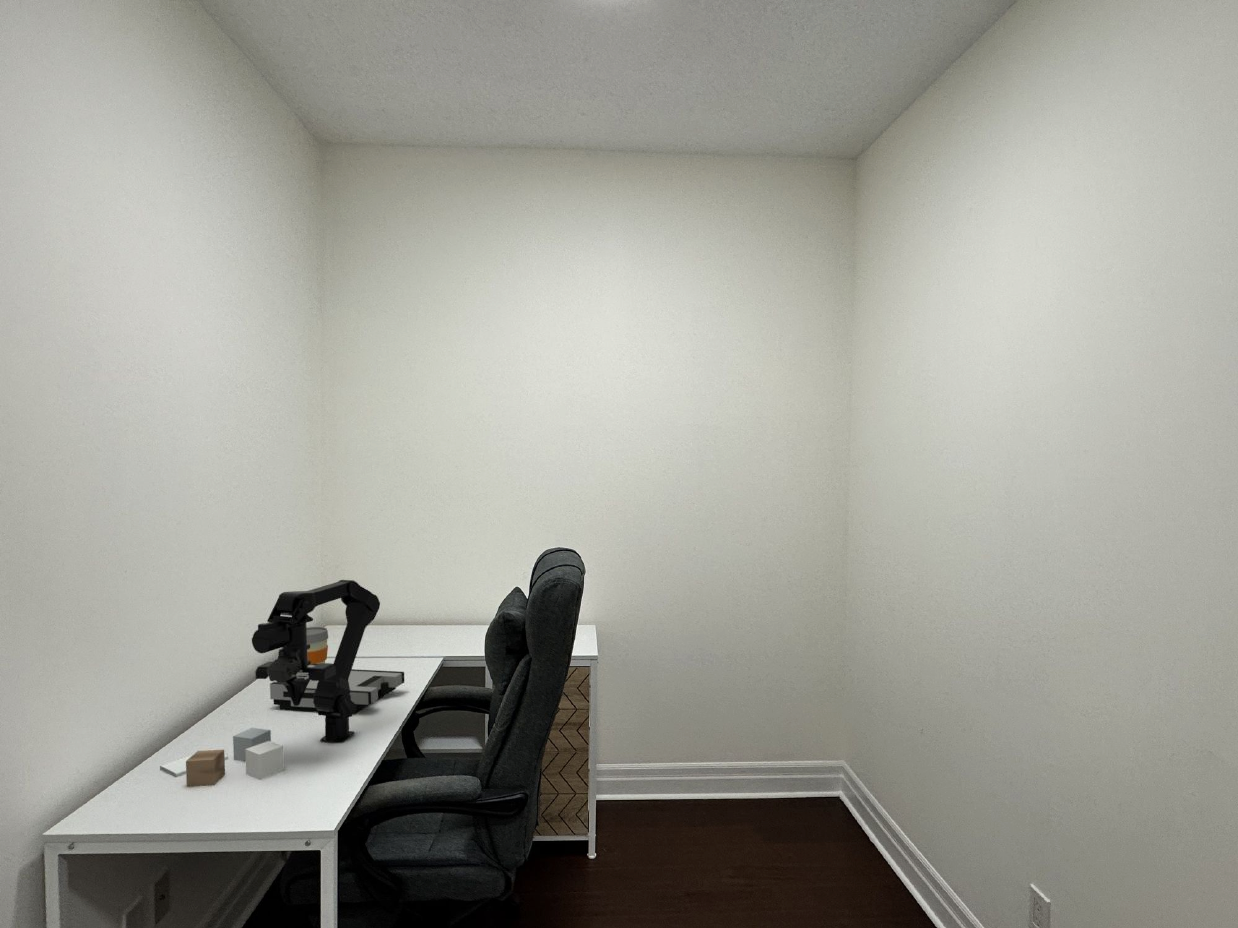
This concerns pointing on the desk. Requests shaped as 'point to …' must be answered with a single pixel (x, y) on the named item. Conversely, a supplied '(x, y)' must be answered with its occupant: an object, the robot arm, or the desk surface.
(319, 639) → the reusable coffee cup
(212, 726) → the desk surface
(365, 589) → the robot arm
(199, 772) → the walnut block
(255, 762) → the off-white cube
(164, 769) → the external hard drive
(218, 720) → the desk surface
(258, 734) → the slate-grey block
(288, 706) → the game console
